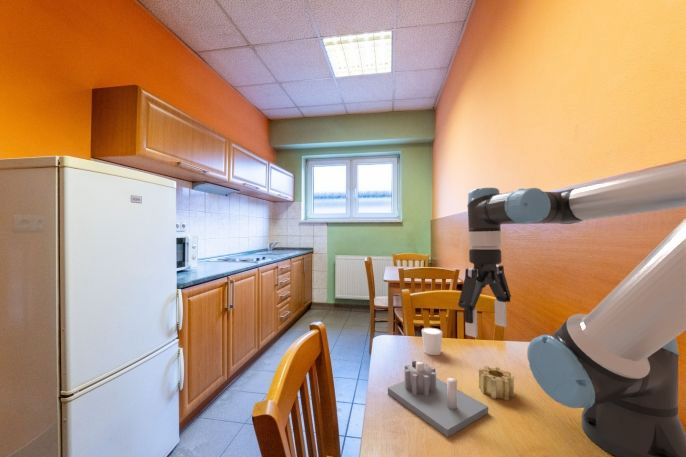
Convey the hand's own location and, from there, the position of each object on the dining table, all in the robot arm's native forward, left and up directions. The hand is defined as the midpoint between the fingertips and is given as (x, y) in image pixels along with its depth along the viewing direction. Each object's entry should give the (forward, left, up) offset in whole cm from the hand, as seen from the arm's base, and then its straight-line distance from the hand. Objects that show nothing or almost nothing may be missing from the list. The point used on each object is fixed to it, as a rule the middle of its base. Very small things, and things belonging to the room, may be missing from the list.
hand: (486, 330), depth 74 cm
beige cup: (+23, -6, -15) cm, 29 cm away
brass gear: (-2, -1, -15) cm, 15 cm away
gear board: (+3, +16, -15) cm, 22 cm away
